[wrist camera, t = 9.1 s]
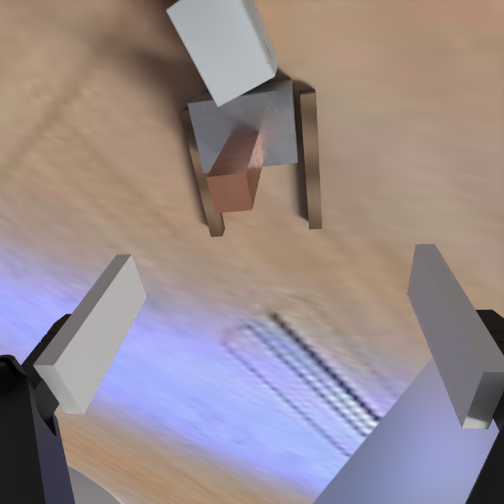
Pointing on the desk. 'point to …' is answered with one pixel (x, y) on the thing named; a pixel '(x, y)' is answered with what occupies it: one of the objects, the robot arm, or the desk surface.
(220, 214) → the frame
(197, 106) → the mallet
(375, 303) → the desk surface
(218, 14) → the small box
